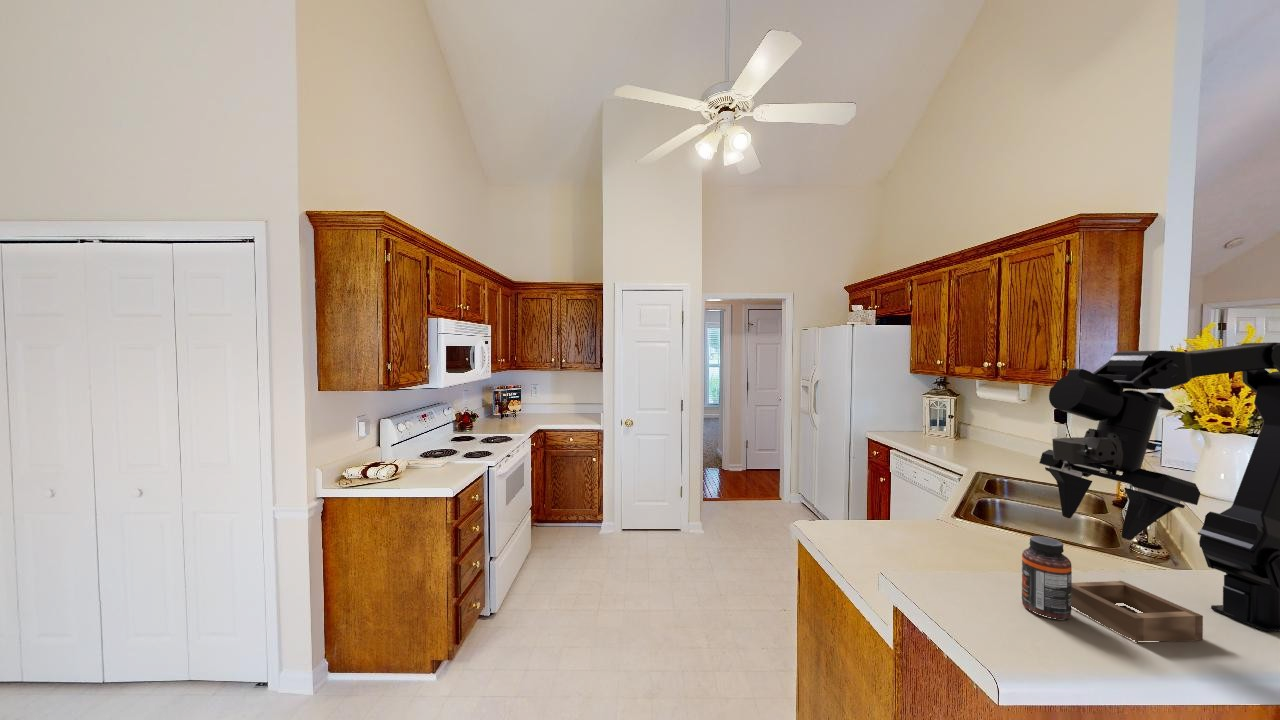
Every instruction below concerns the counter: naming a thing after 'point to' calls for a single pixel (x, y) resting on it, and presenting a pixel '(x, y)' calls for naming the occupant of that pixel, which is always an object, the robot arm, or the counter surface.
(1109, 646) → the counter surface
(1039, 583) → the supplement bottle
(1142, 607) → the socket collar
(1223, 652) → the counter surface
